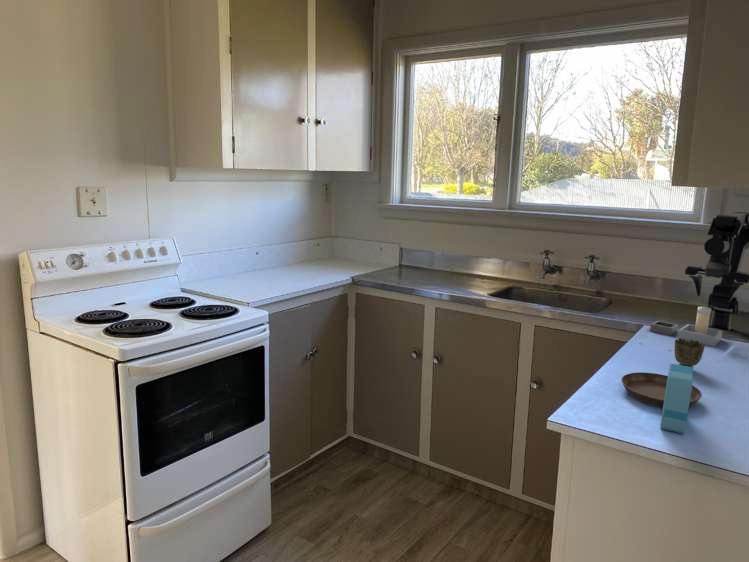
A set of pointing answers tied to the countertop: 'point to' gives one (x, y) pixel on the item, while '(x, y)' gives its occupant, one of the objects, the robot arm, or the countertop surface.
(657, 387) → the plant saucer
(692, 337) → the tray
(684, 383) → the data package
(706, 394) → the countertop surface
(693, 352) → the cup
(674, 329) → the tray
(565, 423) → the countertop surface
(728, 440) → the countertop surface
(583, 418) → the countertop surface
